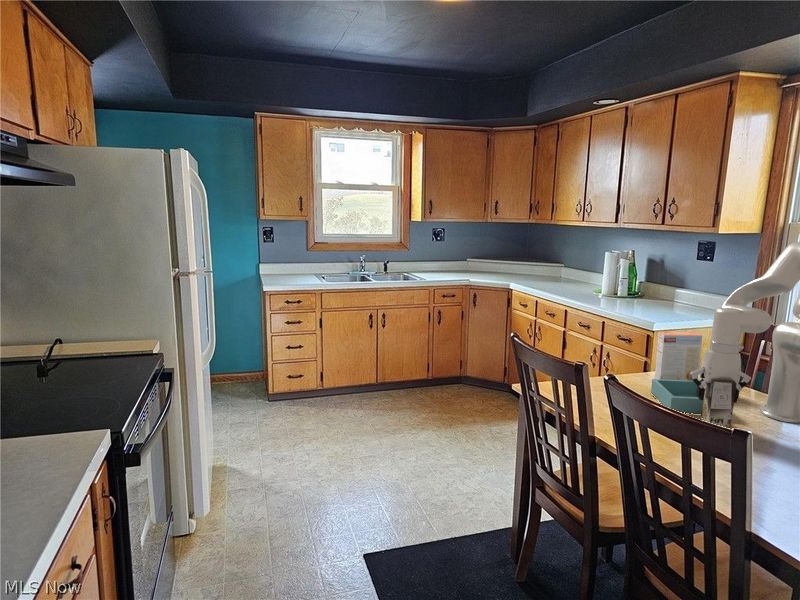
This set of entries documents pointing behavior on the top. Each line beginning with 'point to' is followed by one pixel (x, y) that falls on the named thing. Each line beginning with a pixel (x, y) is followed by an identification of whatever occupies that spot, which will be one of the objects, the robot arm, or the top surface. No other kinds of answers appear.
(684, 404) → the tote
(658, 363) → the cracker box
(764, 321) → the robot arm
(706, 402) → the coffee box
